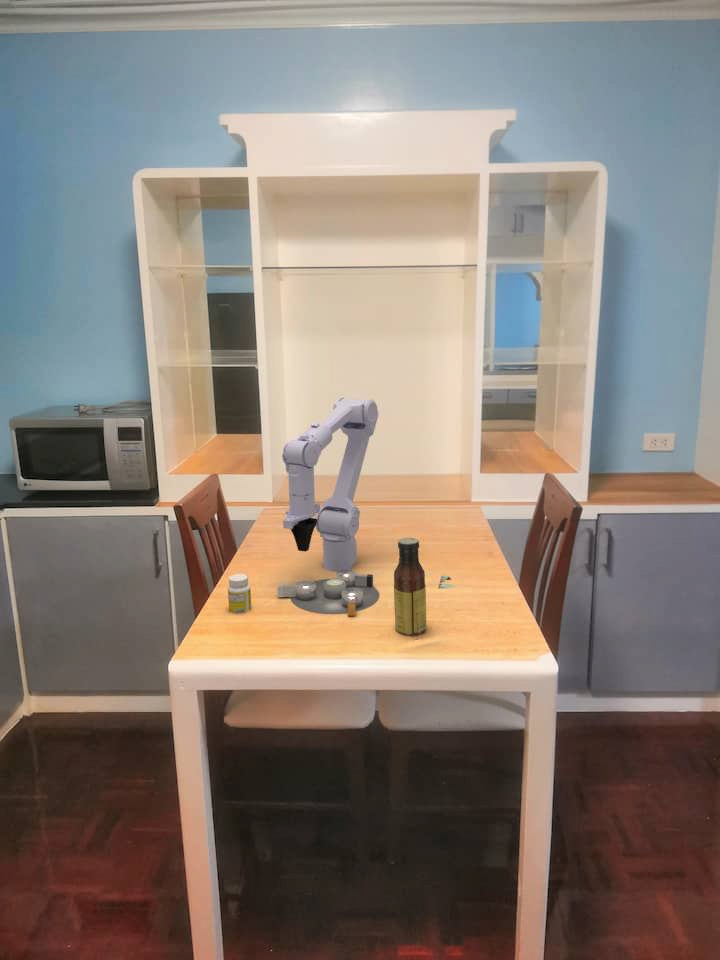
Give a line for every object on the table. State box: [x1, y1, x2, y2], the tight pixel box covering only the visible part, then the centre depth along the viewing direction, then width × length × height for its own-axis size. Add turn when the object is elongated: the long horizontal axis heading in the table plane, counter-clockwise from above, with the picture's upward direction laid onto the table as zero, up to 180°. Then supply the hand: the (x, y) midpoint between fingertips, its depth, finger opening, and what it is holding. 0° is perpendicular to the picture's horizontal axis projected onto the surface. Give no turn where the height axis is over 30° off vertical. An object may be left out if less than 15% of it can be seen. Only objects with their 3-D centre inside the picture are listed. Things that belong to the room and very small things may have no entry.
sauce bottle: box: [393, 537, 427, 641], centre depth 129 cm, size 7×6×20 cm
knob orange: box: [342, 588, 363, 617], centre depth 141 cm, size 8×5×3 cm, turn 179°
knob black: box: [336, 569, 374, 588], centre depth 153 cm, size 8×5×3 cm, turn 78°
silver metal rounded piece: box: [277, 580, 316, 600], centre depth 147 cm, size 8×5×3 cm, turn 90°
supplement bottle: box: [227, 573, 252, 614], centre depth 141 cm, size 5×5×8 cm
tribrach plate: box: [289, 578, 380, 615], centre depth 148 cm, size 20×20×5 cm
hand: (303, 550), depth 152 cm, fingers closed
